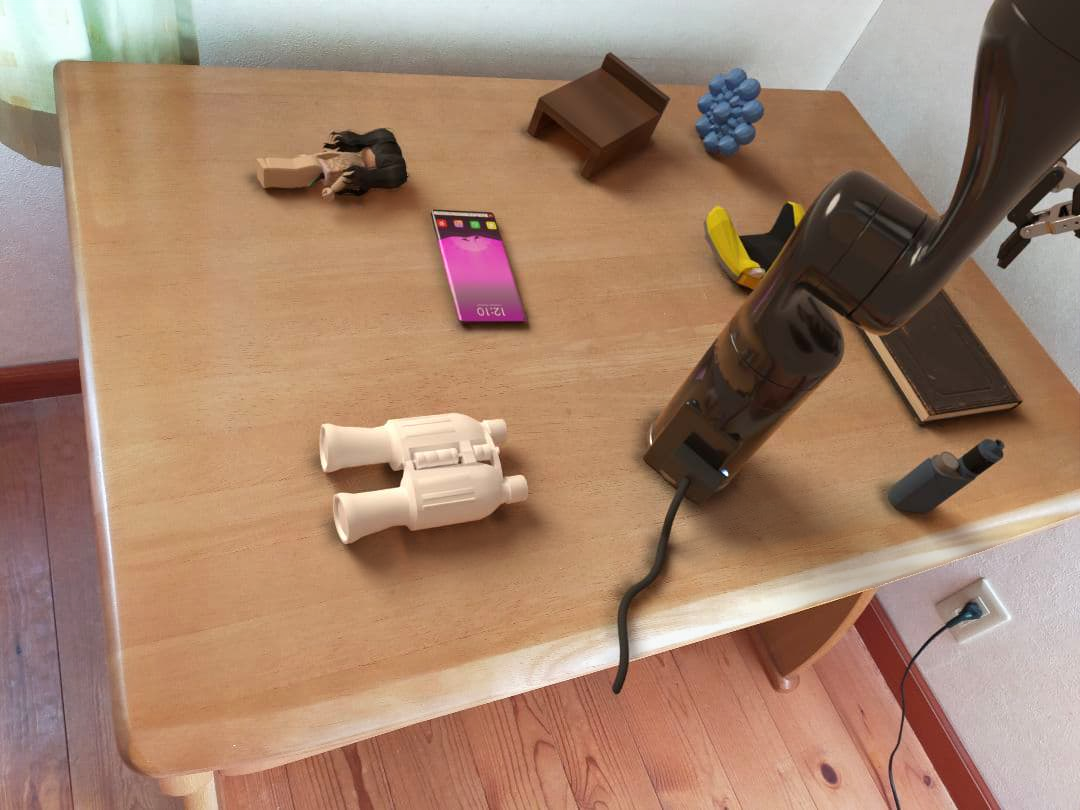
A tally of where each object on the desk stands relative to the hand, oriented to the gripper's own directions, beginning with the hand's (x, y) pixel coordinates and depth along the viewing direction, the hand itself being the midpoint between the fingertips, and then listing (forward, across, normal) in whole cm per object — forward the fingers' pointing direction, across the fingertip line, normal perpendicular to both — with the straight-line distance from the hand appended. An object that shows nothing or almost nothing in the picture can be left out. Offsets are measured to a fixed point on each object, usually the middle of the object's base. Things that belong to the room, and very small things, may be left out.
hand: (1043, 287), depth 81 cm
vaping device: (+23, +3, -10) cm, 25 cm away
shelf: (+20, -50, +13) cm, 55 cm away
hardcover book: (+23, -2, +15) cm, 27 cm away
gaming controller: (+22, -24, +10) cm, 34 cm away
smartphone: (+20, -48, -18) cm, 54 cm away
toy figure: (+19, -65, -19) cm, 70 cm away
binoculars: (+20, -37, -42) cm, 60 cm away
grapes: (+21, -37, +26) cm, 50 cm away
